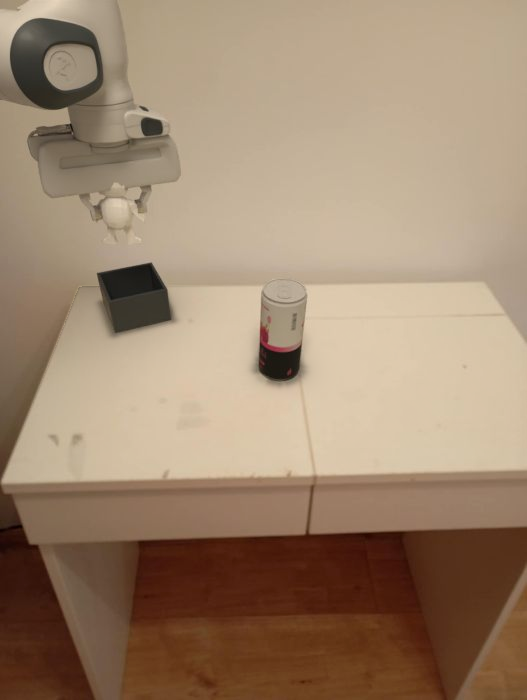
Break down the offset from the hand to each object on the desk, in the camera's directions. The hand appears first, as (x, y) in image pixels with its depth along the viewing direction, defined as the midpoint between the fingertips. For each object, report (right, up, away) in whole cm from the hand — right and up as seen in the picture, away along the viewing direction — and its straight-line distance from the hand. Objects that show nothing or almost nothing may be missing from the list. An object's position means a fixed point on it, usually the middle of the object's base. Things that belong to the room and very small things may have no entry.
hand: (119, 215), depth 74 cm
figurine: (0, -4, +3) cm, 5 cm away
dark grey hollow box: (-1, -14, +12) cm, 19 cm away
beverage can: (+25, -24, +2) cm, 35 cm away
